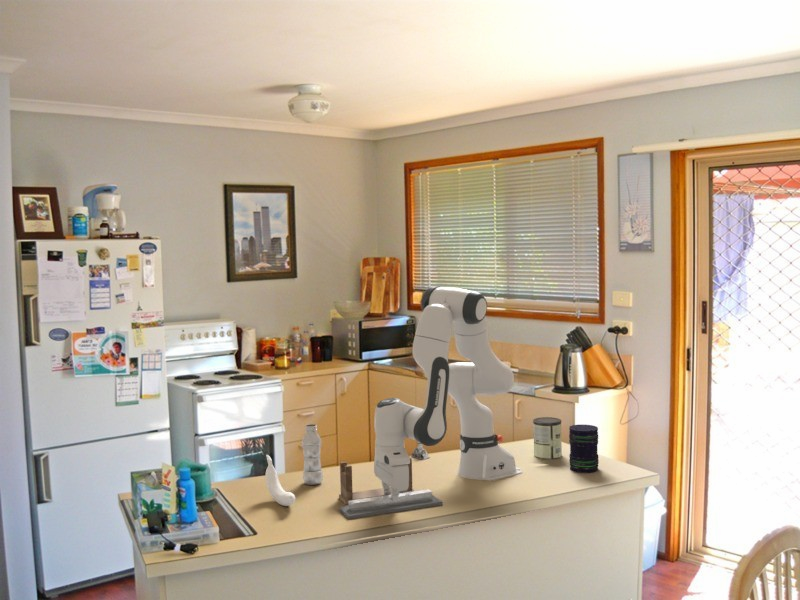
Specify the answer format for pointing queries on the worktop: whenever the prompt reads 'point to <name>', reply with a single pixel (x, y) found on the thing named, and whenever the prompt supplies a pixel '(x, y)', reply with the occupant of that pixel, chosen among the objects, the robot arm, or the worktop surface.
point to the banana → (277, 486)
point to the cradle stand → (349, 495)
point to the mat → (389, 508)
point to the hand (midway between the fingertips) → (391, 498)
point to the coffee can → (547, 438)
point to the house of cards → (420, 452)
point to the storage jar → (583, 448)
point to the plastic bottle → (312, 456)
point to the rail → (389, 500)
